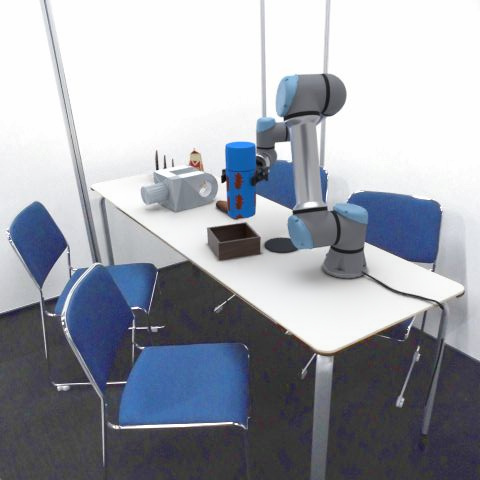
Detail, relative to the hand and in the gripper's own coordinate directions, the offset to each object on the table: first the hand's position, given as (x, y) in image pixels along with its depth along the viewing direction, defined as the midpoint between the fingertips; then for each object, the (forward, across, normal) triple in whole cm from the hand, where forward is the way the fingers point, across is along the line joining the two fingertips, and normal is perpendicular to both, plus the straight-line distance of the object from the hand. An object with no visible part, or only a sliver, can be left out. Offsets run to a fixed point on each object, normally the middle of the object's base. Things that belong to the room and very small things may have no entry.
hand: (237, 180), depth 167 cm
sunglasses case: (-41, +19, -28) cm, 53 cm away
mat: (-12, -14, -28) cm, 33 cm away
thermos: (-4, 0, -14) cm, 14 cm away
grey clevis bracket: (-44, +49, -28) cm, 71 cm away
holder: (-3, +3, -28) cm, 28 cm away
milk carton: (-75, +54, -28) cm, 96 cm away
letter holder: (-83, +77, -28) cm, 117 cm away
